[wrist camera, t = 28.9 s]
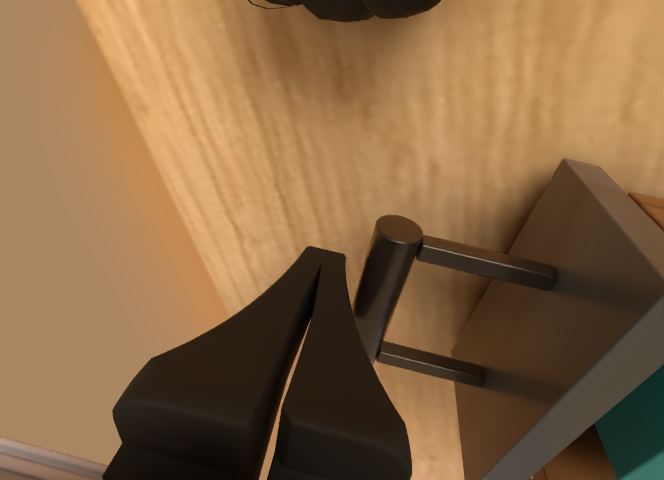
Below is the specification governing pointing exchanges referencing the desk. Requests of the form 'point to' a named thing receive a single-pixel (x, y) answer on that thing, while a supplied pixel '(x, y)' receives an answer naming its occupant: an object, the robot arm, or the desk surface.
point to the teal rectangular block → (636, 431)
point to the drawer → (537, 325)
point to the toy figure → (360, 8)
